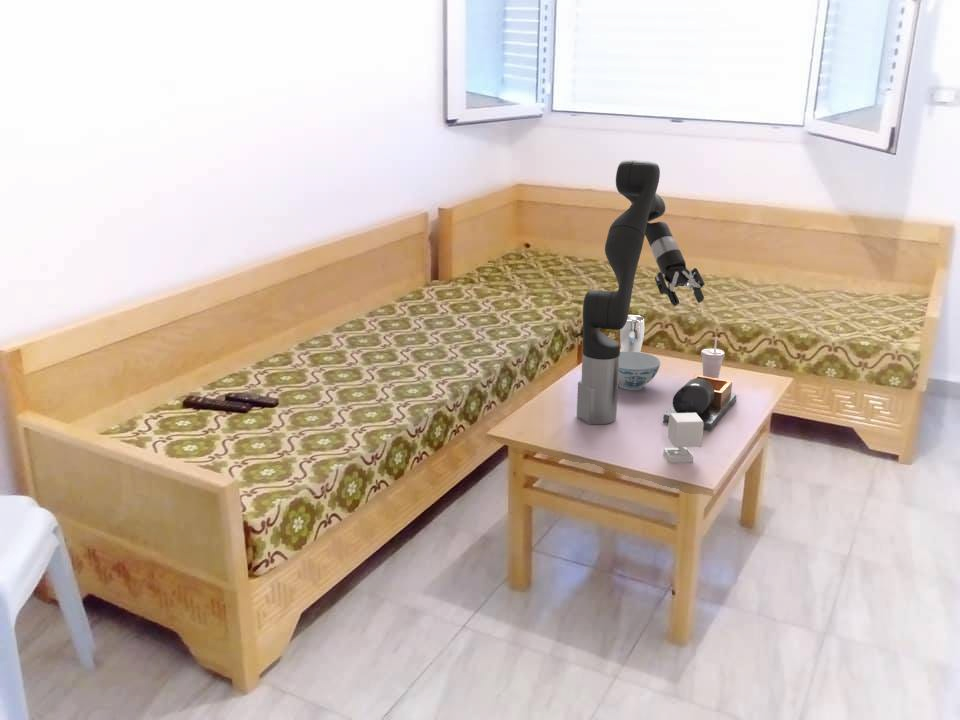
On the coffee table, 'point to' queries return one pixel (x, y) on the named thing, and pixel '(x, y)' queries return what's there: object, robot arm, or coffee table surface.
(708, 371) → the smoothie
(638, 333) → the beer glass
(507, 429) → the coffee table surface
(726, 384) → the motor mount
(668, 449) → the security camera
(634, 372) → the chinaware
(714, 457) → the coffee table surface
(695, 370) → the coffee table surface
